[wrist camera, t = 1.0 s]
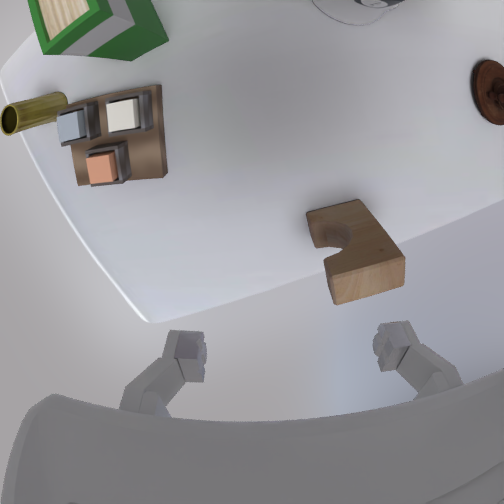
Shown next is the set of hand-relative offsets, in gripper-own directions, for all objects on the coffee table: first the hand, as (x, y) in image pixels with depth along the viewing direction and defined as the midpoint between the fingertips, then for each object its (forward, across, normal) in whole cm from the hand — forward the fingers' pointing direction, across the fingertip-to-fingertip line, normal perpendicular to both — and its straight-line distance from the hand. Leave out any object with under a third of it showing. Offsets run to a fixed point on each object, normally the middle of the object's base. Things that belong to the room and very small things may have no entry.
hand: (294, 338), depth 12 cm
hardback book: (+40, +21, -28) cm, 53 cm away
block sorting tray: (+40, +26, -5) cm, 47 cm away
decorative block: (+40, -14, +13) cm, 44 cm away
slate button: (+34, +31, -9) cm, 47 cm away
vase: (+40, +39, -14) cm, 58 cm away
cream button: (+34, +21, -9) cm, 41 cm away
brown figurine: (+40, -50, -20) cm, 66 cm away
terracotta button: (+34, +26, -1) cm, 43 cm away
